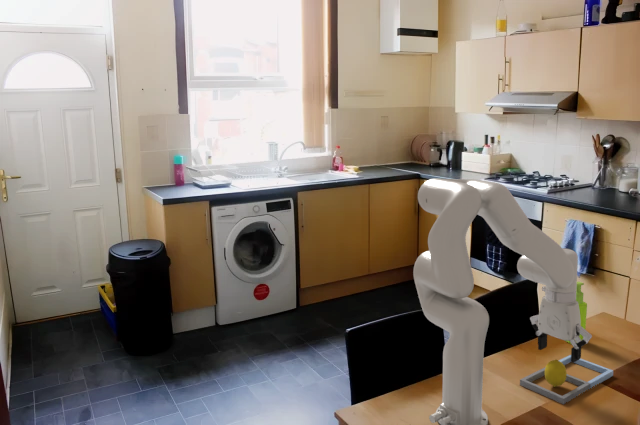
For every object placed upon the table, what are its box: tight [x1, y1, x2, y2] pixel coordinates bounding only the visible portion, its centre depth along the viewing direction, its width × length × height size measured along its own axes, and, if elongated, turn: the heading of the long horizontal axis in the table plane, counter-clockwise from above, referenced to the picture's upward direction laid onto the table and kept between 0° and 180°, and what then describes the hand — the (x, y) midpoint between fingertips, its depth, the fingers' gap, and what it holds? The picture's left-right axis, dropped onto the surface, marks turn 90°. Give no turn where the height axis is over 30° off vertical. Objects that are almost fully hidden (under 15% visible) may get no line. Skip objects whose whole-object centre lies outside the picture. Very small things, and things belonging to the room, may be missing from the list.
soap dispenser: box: [565, 281, 588, 345], centre depth 179 cm, size 6×7×20 cm
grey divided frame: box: [519, 354, 614, 405], centre depth 156 cm, size 25×13×2 cm, turn 126°
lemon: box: [544, 359, 568, 388], centre depth 152 cm, size 6×6×8 cm
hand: (558, 354), depth 151 cm, fingers open, 9 cm apart
